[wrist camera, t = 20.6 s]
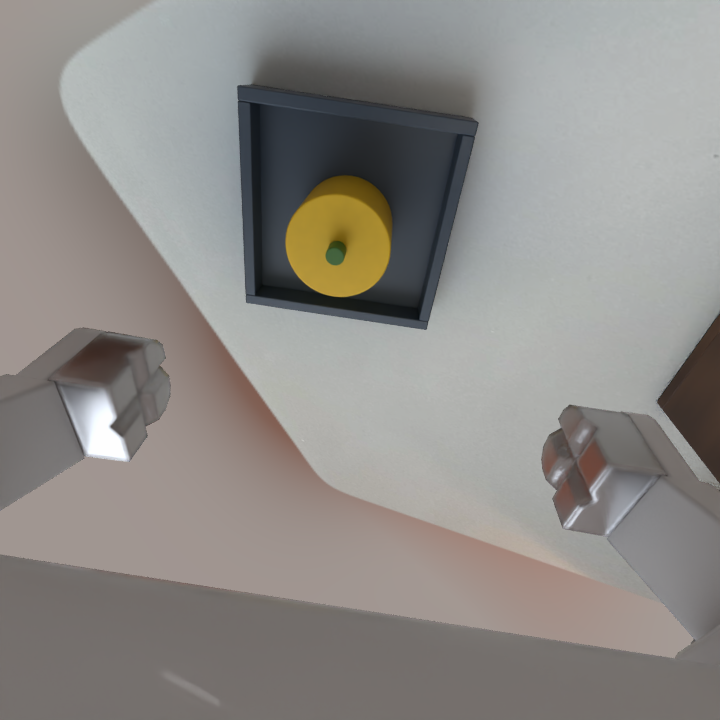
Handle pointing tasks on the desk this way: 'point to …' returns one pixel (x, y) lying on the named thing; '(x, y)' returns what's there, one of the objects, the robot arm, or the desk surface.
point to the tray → (360, 159)
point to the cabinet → (698, 399)
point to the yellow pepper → (341, 237)
